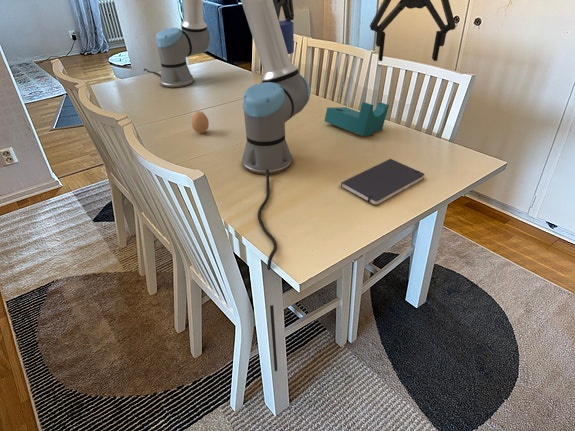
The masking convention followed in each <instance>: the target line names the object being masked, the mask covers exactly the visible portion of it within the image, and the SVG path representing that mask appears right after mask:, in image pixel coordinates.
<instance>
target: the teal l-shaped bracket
mask: <svg viewBox="0 0 575 431" xmlns="http://www.w3.org/2000/svg"><path fill="white" fill-rule="evenodd" d="M360 106H361V107H360V110H359V111H358V110H355V109H352V108H349V107H344V106H343V107H341V106H340V107H337V106H336V107H326V111H325V116H324V122H325V123H328V124H330V125H333V126H336V127H339V128H341V129H344V130H346V131H349V132H351V133H354V134H357V135H359V136H362V137H366V136H373V134H374V132H378V131H379V132H380V131H383V128H384V125H385V121H386V118H387V113H388V109H389V106H390V104H387V103H384V102H381V101H380V102H377V105H376V107H375V108H374V104H372V103H369V102H364V101H363V102H362V103H361V105H360Z"/></svg>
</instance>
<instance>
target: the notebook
mask: <svg viewBox="0 0 575 431" xmlns="http://www.w3.org/2000/svg"><path fill="white" fill-rule="evenodd" d="M424 176H425V173H424V172H422V171H420V170H417V169H415V168H413V167H410V166H408V165H406V164H404V163H401V162H399V161H397V160H395V159H393V158H389V159H387V160H385V161H382V162H380V163H379V164H377V165H375V166H372V167H370V168H368V169H366V170H364V171H362V172H360V173H358V174H356V175H353V176H351V177H350V178H348V179H345V180H344V181H341V182H340V183H341V184H340V187H341V188H342V189H344V190H345V191H347V192H349V193H350V194H353V195H355V196H356V197H358V198H360V199H362V200H363V201H365V202H367V203H369V204H371V205H373V206H379V205H381V204H382V203H384V202H386V201H388V200H390V199H391V198H393V197H395V196H397V195H398V194H400V193H402V192H404V191H406V190H407V189H409V188H411V187H413V186H415V185H416V184H418V183H420V182H422V181H423V180H424Z"/></svg>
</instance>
